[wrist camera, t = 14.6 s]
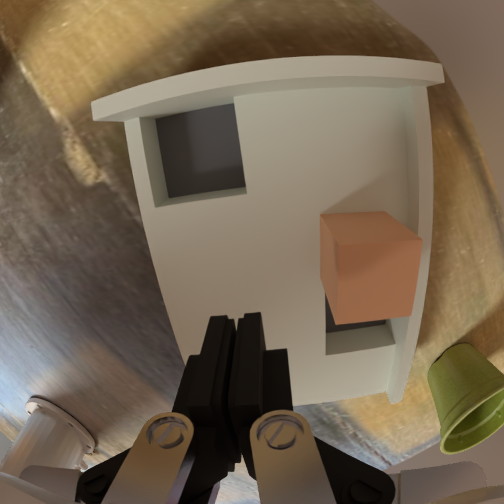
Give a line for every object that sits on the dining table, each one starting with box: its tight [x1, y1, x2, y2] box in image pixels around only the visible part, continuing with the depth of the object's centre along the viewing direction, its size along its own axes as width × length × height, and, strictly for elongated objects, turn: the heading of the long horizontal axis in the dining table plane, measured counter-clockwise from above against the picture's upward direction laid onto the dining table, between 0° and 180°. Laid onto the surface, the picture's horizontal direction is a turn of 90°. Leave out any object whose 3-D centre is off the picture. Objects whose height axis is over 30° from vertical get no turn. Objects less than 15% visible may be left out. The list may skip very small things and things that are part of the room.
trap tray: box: [91, 56, 445, 406], centre depth 18 cm, size 24×17×6 cm
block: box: [320, 211, 423, 325], centre depth 15 cm, size 4×4×5 cm
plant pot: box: [428, 343, 504, 454], centre depth 21 cm, size 9×9×9 cm
